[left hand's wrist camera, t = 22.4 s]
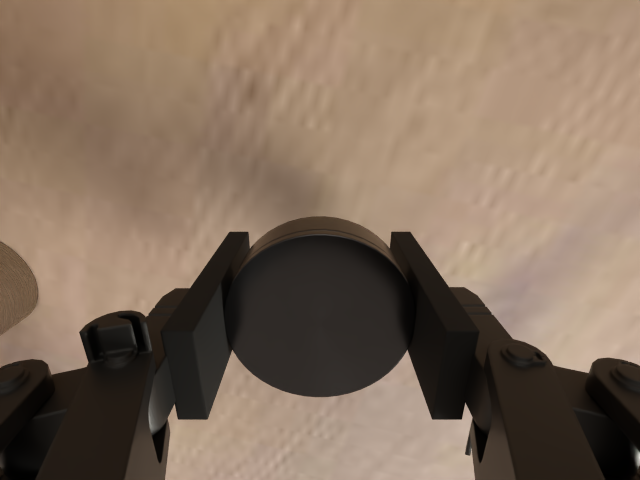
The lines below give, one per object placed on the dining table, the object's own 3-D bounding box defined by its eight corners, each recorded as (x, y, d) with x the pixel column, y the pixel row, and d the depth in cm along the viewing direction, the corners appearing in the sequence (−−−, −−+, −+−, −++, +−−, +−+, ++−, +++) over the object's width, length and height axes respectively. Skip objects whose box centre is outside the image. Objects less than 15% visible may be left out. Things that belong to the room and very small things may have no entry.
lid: (431, 245, 11) (449, 268, 10) (368, 378, 13) (375, 414, 12) (259, 192, 11) (248, 207, 9) (220, 340, 13) (206, 373, 11)
